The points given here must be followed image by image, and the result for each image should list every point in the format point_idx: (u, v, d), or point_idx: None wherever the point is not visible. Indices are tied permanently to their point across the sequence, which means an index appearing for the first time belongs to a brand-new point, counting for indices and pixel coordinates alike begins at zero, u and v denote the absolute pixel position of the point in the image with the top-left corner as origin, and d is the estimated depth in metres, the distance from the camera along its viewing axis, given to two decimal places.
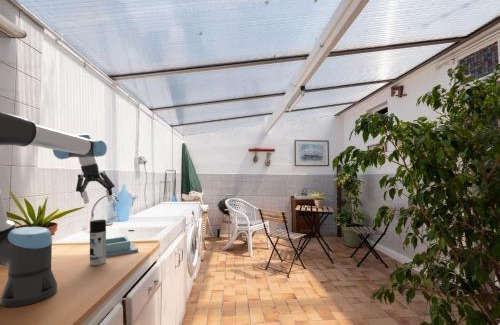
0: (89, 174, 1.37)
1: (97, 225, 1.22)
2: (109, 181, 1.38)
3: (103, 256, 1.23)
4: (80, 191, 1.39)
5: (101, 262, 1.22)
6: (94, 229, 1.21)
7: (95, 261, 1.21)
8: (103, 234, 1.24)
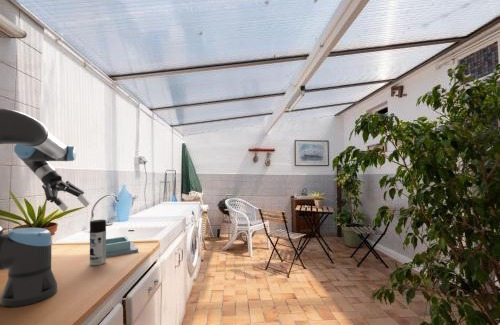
0: None
1: (97, 225, 1.22)
2: None
3: (103, 256, 1.23)
4: (56, 196, 1.19)
5: (101, 262, 1.22)
6: (94, 229, 1.21)
7: (95, 261, 1.21)
8: (103, 234, 1.24)
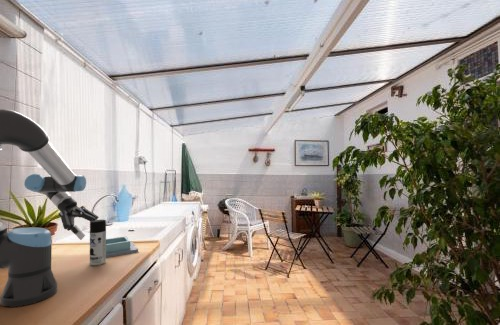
0: (72, 208, 1.27)
1: (97, 225, 1.22)
2: None
3: (103, 256, 1.23)
4: (73, 224, 1.19)
5: (101, 262, 1.22)
6: (94, 229, 1.21)
7: (95, 261, 1.21)
8: (103, 234, 1.24)
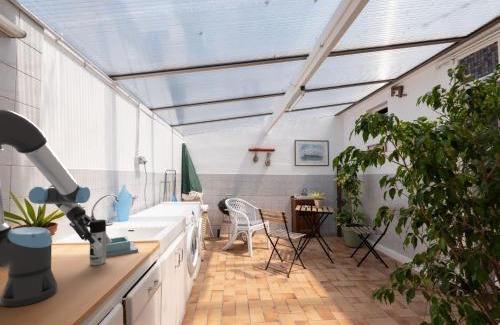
0: (79, 215, 1.25)
1: (97, 225, 1.22)
2: None
3: (103, 256, 1.23)
4: (90, 234, 1.20)
5: (101, 262, 1.22)
6: (94, 229, 1.21)
7: (95, 261, 1.21)
8: (103, 234, 1.24)
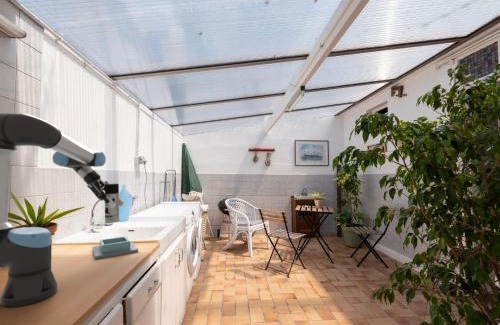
0: (95, 179, 1.41)
1: (111, 187, 1.37)
2: None
3: (116, 215, 1.39)
4: (105, 195, 1.36)
5: (115, 220, 1.38)
6: (108, 190, 1.37)
7: (110, 218, 1.37)
8: (116, 195, 1.39)
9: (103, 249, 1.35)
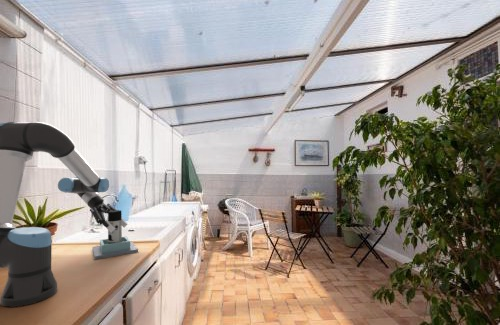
0: (100, 204, 1.45)
1: (114, 214, 1.41)
2: None
3: (119, 241, 1.43)
4: (104, 219, 1.37)
5: None
6: (111, 218, 1.41)
7: None
8: (119, 222, 1.43)
9: (103, 249, 1.35)
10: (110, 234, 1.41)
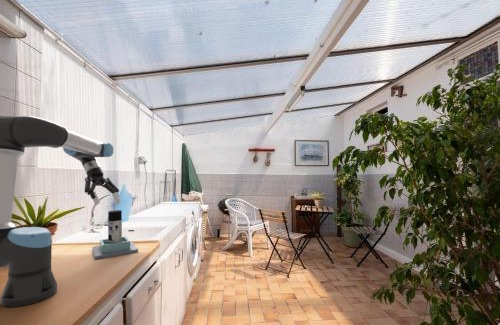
0: None
1: (114, 214, 1.41)
2: None
3: (119, 241, 1.43)
4: (92, 190, 1.33)
5: None
6: (112, 218, 1.41)
7: None
8: (119, 222, 1.43)
9: (103, 249, 1.35)
10: (110, 234, 1.41)
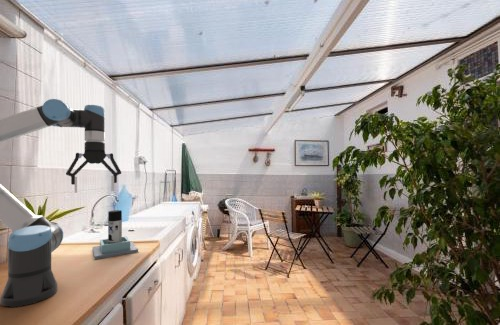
0: (94, 154, 1.12)
1: (114, 214, 1.41)
2: (117, 166, 1.17)
3: (119, 241, 1.43)
4: (73, 175, 1.07)
5: None
6: (112, 218, 1.41)
7: None
8: (119, 222, 1.43)
9: (103, 249, 1.35)
10: (110, 234, 1.41)
